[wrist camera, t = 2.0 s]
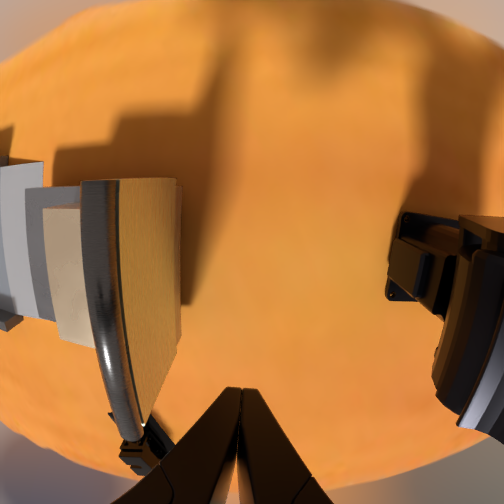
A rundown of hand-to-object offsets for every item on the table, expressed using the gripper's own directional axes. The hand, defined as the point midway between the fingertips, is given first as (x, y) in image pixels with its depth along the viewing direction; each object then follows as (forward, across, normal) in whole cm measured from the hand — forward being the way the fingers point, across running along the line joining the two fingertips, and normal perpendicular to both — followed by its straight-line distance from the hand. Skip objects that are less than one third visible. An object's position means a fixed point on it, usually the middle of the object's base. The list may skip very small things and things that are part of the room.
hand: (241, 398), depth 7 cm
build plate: (+13, +10, +21) cm, 26 cm away
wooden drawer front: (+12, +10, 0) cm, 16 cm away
